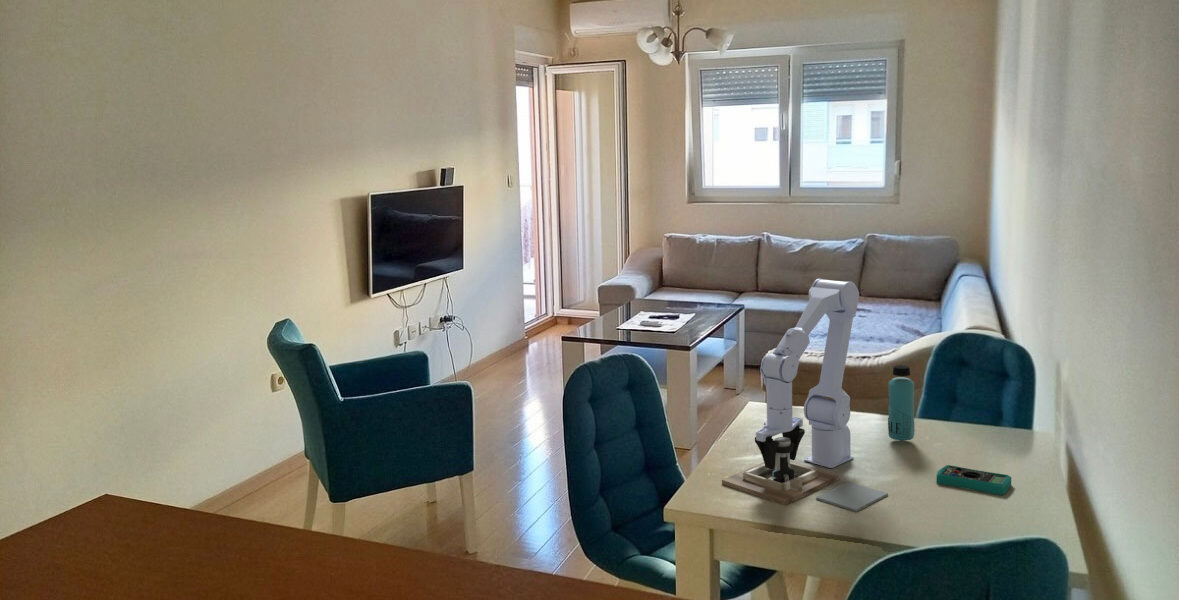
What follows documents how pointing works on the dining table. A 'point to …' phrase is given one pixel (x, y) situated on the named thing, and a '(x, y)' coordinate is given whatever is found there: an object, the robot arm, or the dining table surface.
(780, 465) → the push button
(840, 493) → the rubber mat
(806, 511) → the dining table surface
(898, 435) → the beverage bottle
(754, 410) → the dining table surface
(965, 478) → the digital multimeter
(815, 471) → the brown flat rectangular frame
